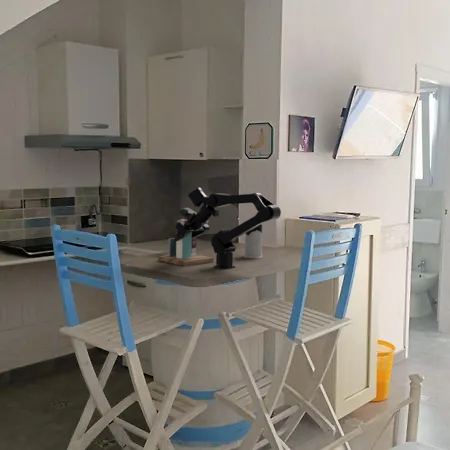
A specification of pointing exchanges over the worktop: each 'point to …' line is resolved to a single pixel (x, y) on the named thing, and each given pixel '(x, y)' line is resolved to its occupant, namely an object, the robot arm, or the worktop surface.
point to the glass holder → (253, 243)
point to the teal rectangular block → (184, 247)
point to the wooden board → (187, 260)
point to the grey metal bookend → (171, 248)
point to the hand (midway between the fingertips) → (181, 239)
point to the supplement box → (193, 247)
